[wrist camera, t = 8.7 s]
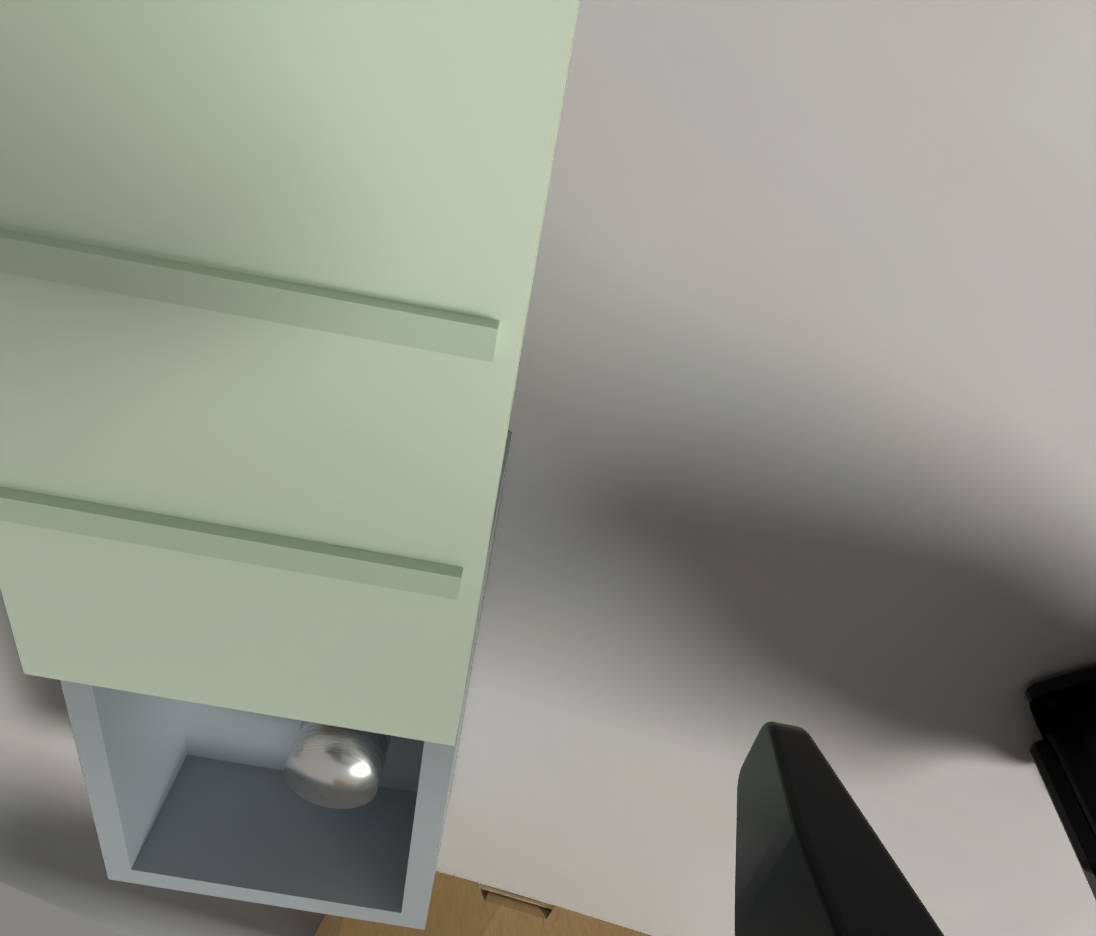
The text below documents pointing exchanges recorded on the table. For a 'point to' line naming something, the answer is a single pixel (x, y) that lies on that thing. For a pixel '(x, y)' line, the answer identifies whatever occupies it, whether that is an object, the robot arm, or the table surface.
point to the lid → (265, 340)
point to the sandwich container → (480, 916)
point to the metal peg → (336, 765)
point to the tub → (258, 805)
